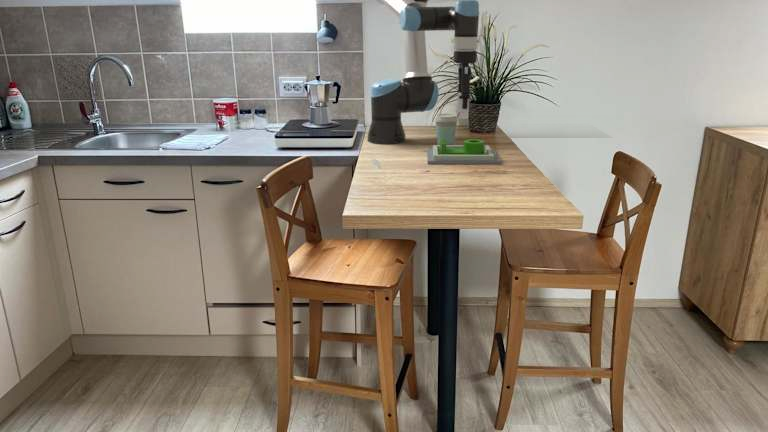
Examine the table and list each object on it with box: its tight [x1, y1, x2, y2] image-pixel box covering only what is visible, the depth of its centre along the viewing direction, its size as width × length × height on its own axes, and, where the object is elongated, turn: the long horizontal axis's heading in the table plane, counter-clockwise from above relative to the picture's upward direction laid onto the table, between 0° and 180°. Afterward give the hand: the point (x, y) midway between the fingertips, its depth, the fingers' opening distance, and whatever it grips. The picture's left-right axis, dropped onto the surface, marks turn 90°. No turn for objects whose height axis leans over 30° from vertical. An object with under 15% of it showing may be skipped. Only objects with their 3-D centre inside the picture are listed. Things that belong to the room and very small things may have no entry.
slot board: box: [426, 144, 502, 165], centre depth 202 cm, size 24×20×2 cm
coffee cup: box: [434, 113, 459, 145], centre depth 217 cm, size 9×8×12 cm
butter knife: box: [371, 158, 382, 170], centre depth 189 cm, size 1×27×3 cm
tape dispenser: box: [440, 138, 486, 155], centre depth 201 cm, size 15×7×5 cm, turn 89°
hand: (462, 115), depth 198 cm, fingers open, 13 cm apart
